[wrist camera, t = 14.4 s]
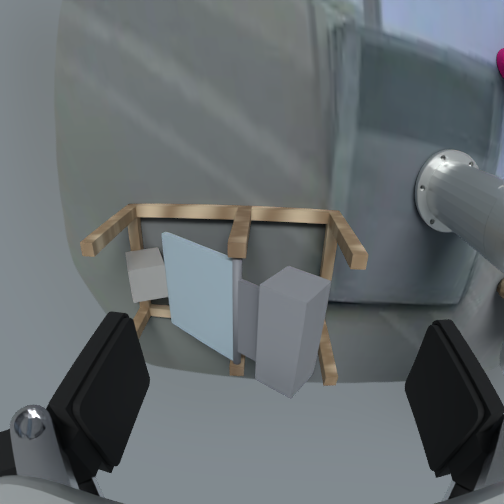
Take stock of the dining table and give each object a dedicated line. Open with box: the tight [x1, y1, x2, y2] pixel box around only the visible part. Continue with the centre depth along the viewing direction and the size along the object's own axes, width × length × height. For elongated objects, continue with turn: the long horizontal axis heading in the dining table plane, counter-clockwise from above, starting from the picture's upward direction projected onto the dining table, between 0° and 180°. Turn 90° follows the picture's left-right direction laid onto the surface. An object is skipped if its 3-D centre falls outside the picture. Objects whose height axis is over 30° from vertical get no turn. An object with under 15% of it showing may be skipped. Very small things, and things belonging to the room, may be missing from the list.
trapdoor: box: [162, 232, 331, 398], centre depth 37 cm, size 21×15×5 cm
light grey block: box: [125, 247, 168, 303], centre depth 43 cm, size 5×5×6 cm
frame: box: [80, 204, 368, 386], centre depth 40 cm, size 30×19×14 cm, turn 88°
